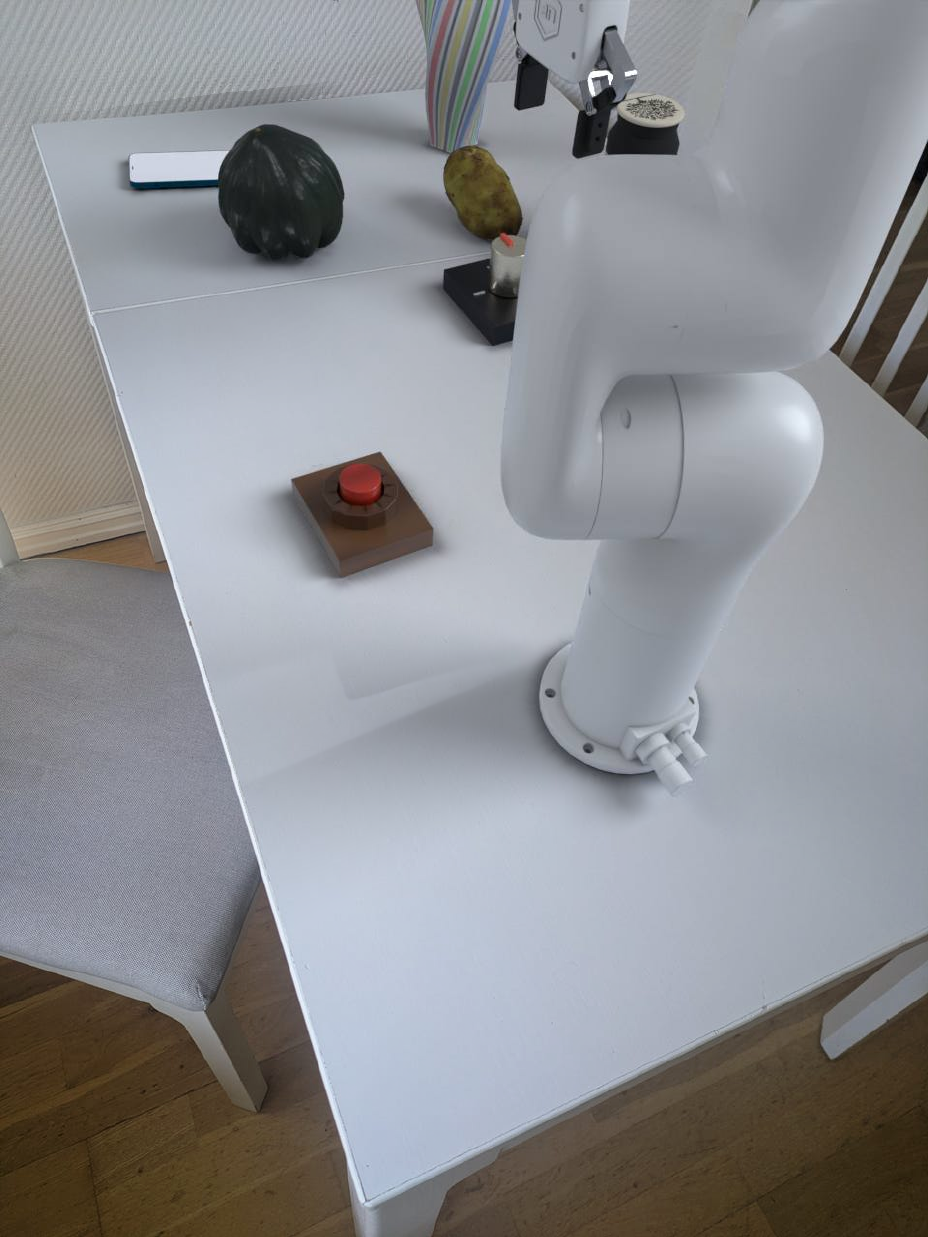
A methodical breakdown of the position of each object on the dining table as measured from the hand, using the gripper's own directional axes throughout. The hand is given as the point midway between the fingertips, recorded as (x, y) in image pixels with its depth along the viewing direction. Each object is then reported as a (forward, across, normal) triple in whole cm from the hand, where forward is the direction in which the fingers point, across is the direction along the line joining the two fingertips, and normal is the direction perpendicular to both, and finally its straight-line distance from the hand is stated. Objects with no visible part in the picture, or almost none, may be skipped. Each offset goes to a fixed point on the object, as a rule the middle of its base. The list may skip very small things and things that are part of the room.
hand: (557, 129), depth 85 cm
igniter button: (+18, +18, -30) cm, 39 cm away
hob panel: (+22, -5, 0) cm, 23 cm away
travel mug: (+22, -7, +18) cm, 30 cm away
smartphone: (+23, -48, -21) cm, 57 cm away
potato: (+23, -22, +7) cm, 32 cm away
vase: (+23, -41, +14) cm, 49 cm away
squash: (+23, -28, -17) cm, 40 cm away
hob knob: (+20, -5, 0) cm, 20 cm away
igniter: (+21, +18, -30) cm, 41 cm away
